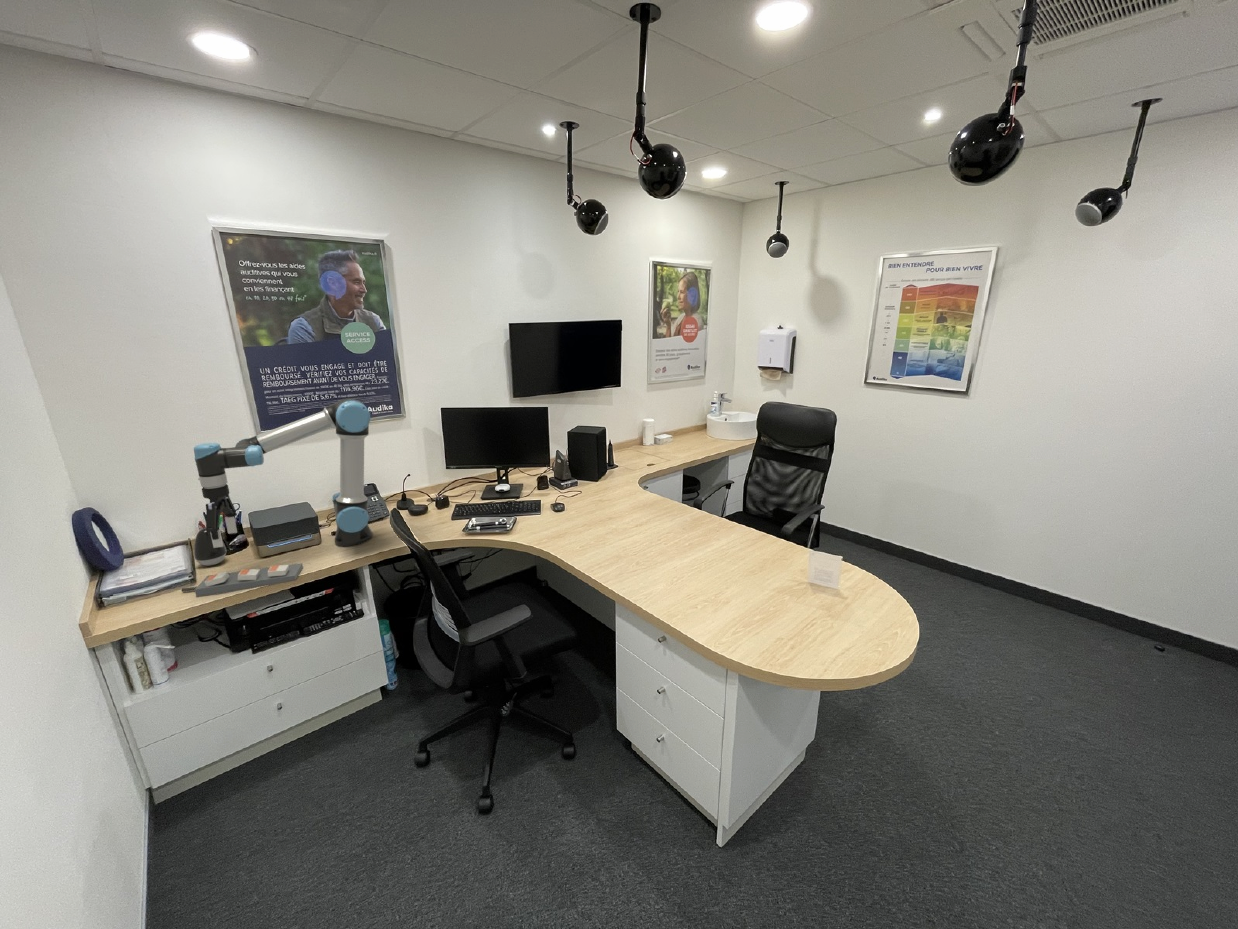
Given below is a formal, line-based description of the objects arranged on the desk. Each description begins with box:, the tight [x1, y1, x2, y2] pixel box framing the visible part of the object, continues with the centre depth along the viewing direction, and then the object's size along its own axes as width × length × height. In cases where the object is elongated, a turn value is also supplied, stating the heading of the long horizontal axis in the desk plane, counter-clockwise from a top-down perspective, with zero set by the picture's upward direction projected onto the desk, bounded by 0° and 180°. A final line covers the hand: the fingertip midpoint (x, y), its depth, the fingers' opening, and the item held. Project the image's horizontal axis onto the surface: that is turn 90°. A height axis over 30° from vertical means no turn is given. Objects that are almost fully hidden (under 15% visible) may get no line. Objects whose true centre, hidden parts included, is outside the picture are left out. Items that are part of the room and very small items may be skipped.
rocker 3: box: [268, 564, 290, 577], centre depth 185 cm, size 6×5×2 cm
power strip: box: [181, 562, 304, 598], centre depth 184 cm, size 37×11×3 cm, turn 110°
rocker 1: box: [205, 571, 229, 587], centre depth 179 cm, size 6×5×2 cm
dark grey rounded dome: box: [193, 527, 228, 567], centre depth 199 cm, size 10×10×15 cm
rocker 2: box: [238, 568, 261, 580], centre depth 182 cm, size 6×5×2 cm
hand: (225, 539), depth 183 cm, fingers open, 13 cm apart
